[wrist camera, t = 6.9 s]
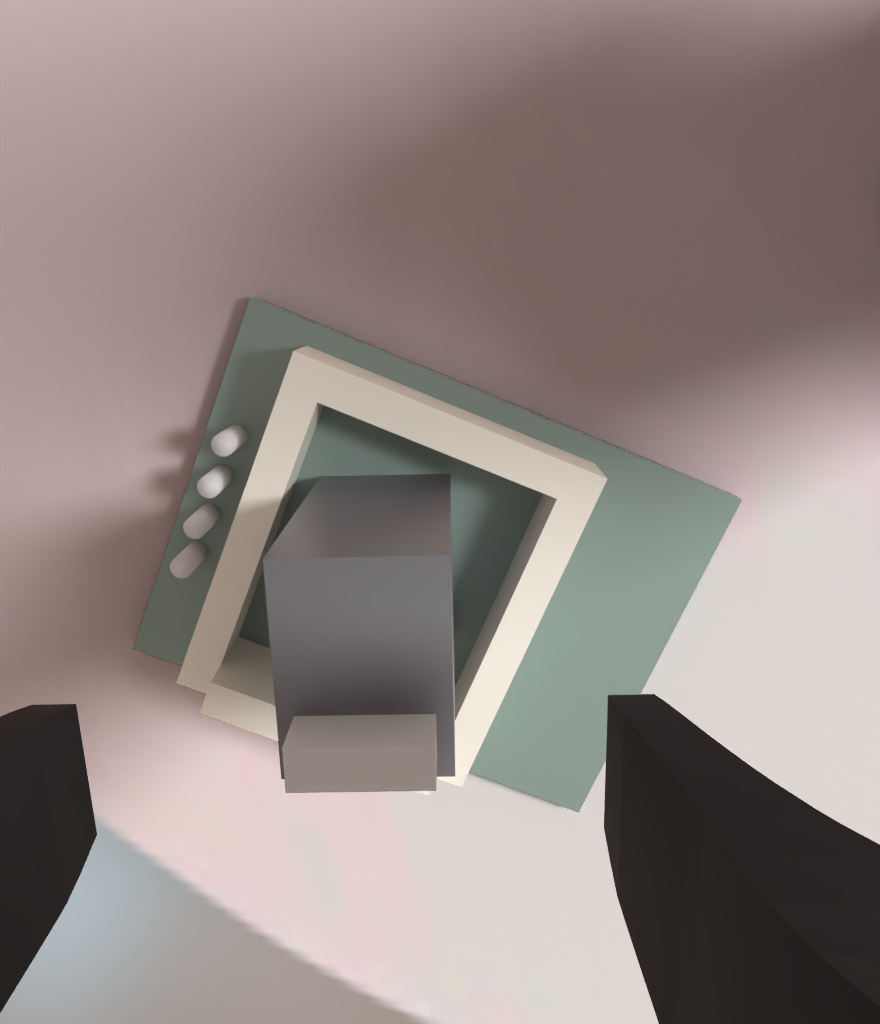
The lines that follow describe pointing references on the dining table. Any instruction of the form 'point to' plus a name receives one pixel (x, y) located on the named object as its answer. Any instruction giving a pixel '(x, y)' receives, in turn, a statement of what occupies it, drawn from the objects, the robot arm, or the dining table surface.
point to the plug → (364, 635)
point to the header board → (475, 546)
